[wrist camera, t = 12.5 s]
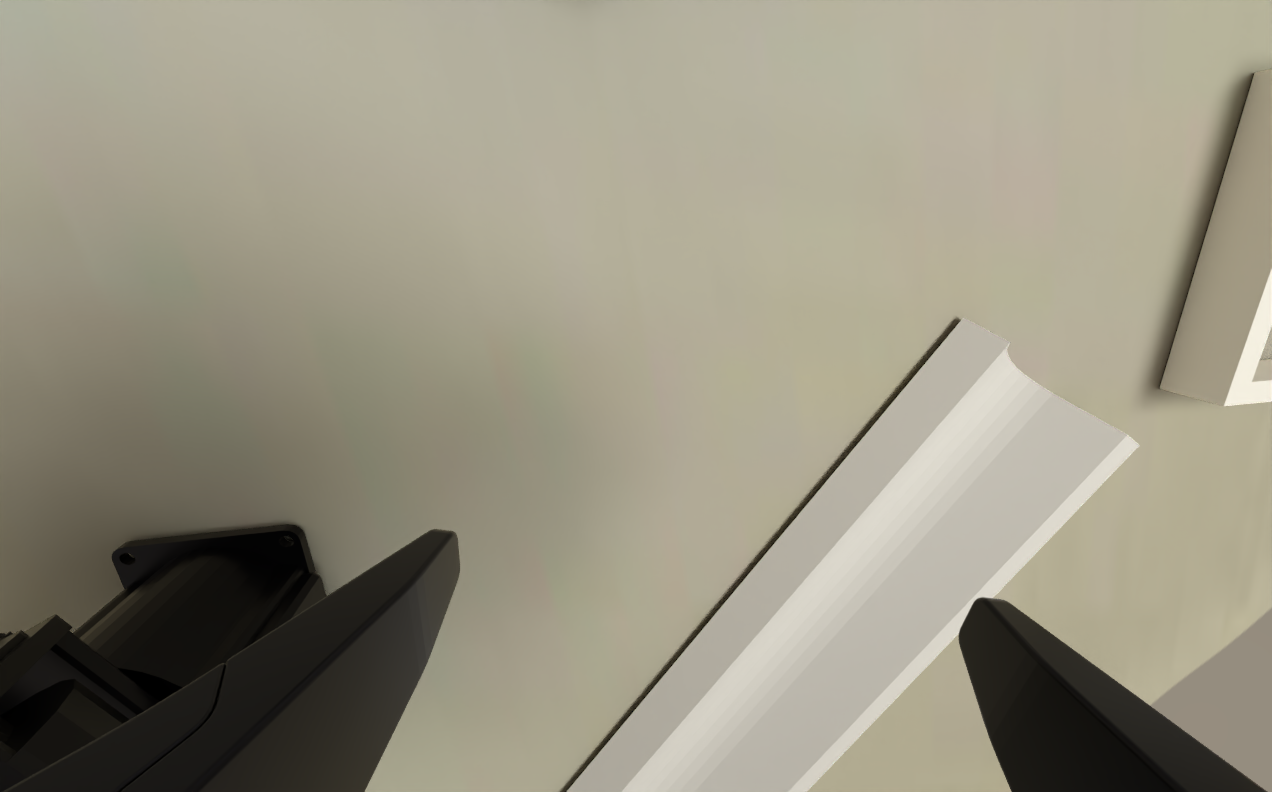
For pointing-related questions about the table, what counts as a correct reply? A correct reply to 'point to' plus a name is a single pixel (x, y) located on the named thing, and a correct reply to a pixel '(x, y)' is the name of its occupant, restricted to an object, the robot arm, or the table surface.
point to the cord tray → (1233, 275)
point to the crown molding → (868, 579)
